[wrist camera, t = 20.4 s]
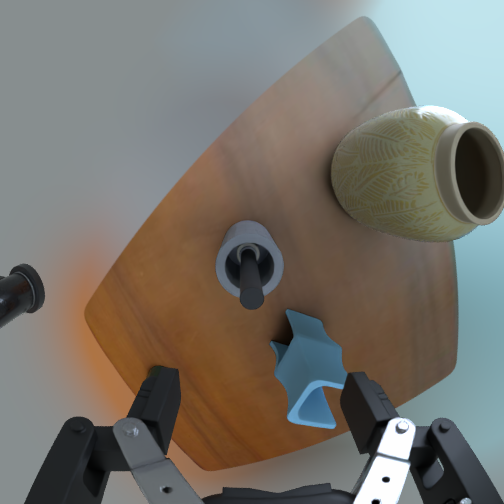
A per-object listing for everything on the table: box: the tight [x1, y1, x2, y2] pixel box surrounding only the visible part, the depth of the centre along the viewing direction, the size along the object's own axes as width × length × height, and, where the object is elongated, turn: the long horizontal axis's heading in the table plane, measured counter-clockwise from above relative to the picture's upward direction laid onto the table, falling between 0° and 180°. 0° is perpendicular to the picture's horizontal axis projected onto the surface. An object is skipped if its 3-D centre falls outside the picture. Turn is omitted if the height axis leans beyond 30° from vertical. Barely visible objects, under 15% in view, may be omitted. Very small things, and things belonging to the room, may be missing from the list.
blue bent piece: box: [269, 309, 348, 429], centre depth 40 cm, size 8×8×20 cm
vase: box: [331, 106, 504, 242], centre depth 31 cm, size 17×17×27 cm
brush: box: [237, 243, 264, 310], centre depth 34 cm, size 3×3×22 cm
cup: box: [215, 220, 284, 298], centre depth 39 cm, size 8×8×14 cm
